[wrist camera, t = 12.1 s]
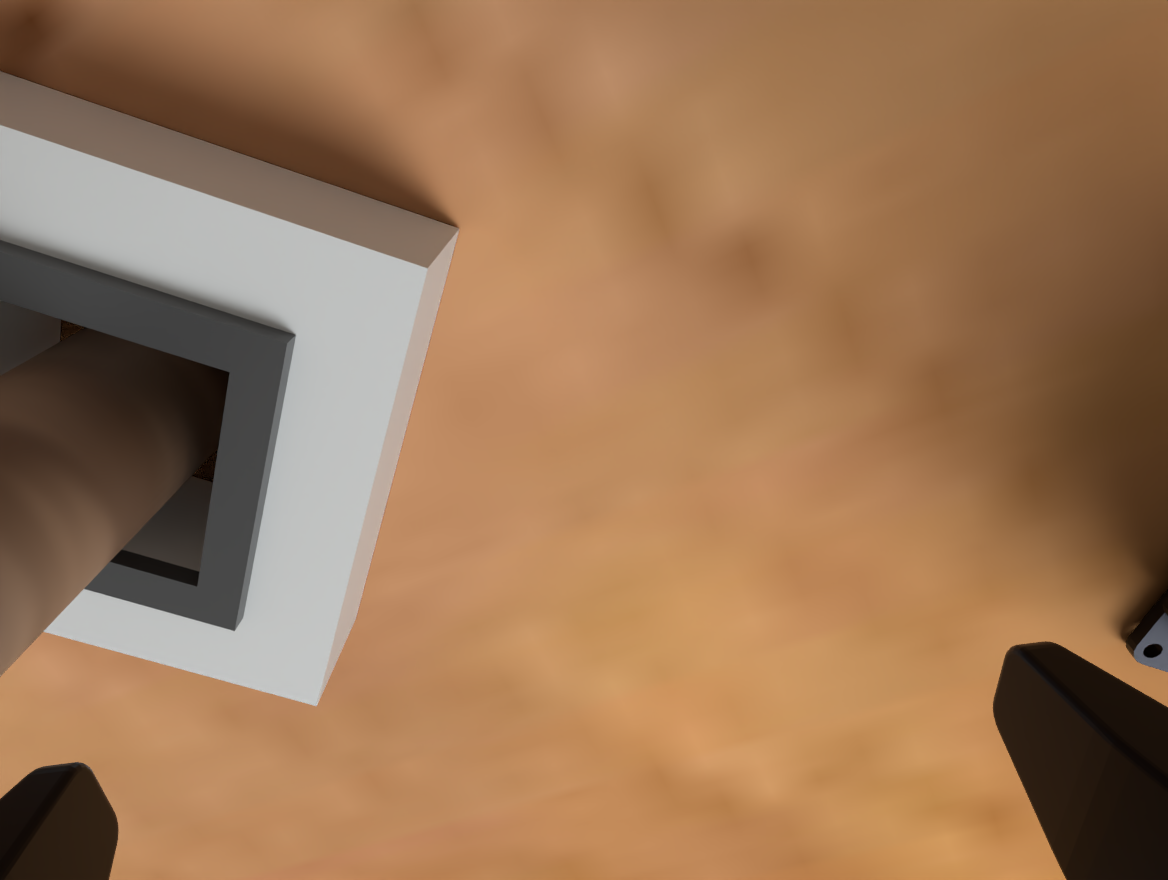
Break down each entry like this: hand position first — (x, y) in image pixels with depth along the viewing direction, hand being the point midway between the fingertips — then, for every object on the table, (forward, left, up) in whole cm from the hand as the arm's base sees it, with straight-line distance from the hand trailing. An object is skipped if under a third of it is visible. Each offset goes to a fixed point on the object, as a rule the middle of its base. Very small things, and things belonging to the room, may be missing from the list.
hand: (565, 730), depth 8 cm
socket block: (+10, +5, -13) cm, 17 cm away
